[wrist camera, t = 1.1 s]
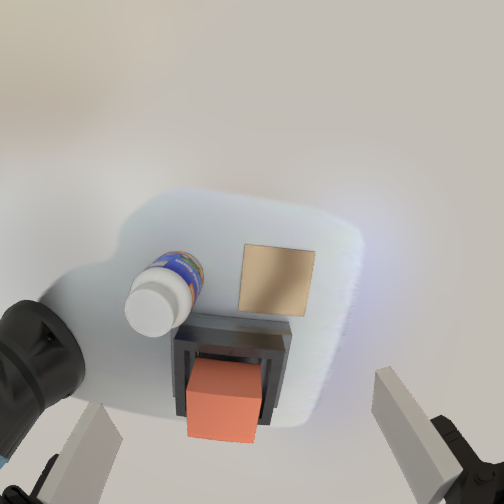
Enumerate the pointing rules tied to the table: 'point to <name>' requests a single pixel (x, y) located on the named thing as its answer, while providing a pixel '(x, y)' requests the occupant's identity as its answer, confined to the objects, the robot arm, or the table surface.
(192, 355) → the grey square tray
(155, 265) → the pill bottle
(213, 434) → the orange block
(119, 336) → the table surface
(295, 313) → the coaster
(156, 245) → the table surface
